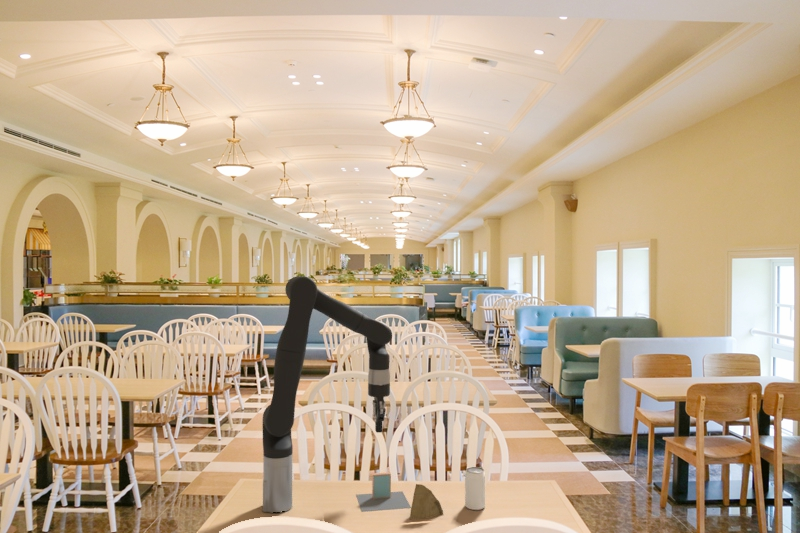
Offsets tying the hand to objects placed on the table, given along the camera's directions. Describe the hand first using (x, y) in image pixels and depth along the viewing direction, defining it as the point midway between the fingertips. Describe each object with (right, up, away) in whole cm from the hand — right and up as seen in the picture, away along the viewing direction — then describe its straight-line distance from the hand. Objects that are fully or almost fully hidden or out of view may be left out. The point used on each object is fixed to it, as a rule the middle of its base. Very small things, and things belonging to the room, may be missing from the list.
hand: (378, 431), depth 203 cm
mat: (+2, -21, -9) cm, 23 cm away
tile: (+1, -20, -6) cm, 21 cm away
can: (+32, -21, -11) cm, 40 cm away
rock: (+16, -21, -20) cm, 33 cm away
